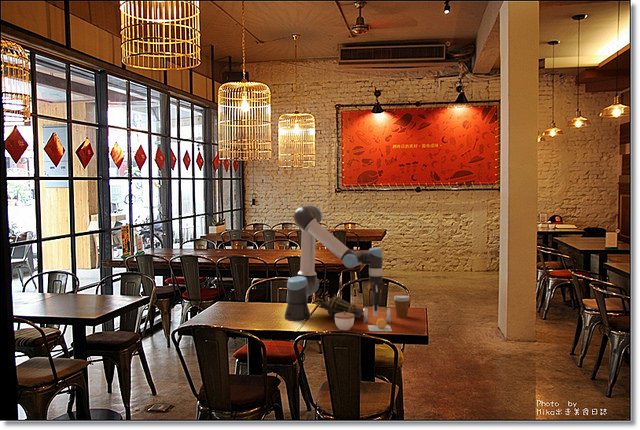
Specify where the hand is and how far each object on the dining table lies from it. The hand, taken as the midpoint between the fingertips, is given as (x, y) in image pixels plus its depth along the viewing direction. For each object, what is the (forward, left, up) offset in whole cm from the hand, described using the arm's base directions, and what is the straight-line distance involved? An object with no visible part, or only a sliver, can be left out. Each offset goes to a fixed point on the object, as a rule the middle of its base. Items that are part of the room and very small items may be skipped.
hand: (375, 315), depth 330 cm
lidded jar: (-19, -22, -2) cm, 29 cm away
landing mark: (0, -21, -2) cm, 21 cm away
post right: (+6, -8, -2) cm, 10 cm away
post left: (-6, -8, -2) cm, 10 cm away
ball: (+1, -21, +1) cm, 21 cm away
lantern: (-22, +5, -2) cm, 23 cm away
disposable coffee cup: (+16, +6, -2) cm, 17 cm away
